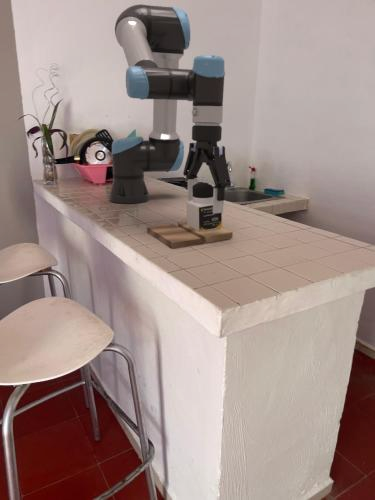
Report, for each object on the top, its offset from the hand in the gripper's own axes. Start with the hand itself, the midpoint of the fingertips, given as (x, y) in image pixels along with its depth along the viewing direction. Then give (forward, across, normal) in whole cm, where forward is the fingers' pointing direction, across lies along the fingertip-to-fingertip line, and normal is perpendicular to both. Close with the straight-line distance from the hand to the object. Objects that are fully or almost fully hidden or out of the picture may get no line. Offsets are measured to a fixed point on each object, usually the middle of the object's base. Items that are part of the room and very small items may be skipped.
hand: (204, 207), depth 101 cm
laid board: (+7, 0, -9) cm, 12 cm away
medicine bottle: (+6, 0, 0) cm, 6 cm away
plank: (+7, 0, 0) cm, 7 cm away
